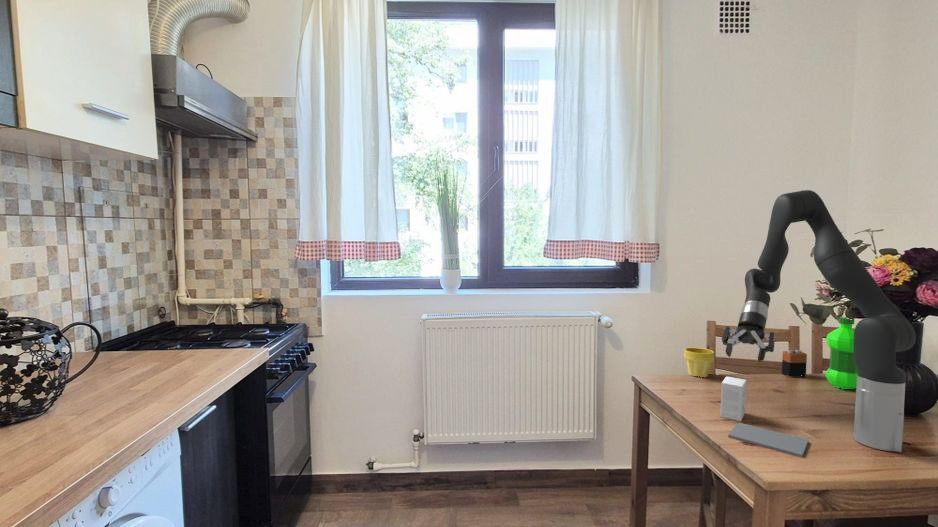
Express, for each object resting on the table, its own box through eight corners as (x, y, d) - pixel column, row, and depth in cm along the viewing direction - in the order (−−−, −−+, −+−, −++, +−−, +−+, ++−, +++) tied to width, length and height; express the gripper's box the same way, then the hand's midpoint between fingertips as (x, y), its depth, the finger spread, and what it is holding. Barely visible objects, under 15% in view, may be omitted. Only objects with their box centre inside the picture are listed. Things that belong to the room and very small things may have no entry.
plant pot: (702, 370, 179) (702, 346, 178) (719, 378, 169) (720, 353, 168) (677, 371, 178) (678, 347, 177) (694, 379, 168) (694, 354, 167)
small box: (724, 408, 139) (725, 375, 138) (745, 413, 136) (746, 379, 135) (719, 416, 133) (720, 382, 132) (741, 421, 129) (742, 386, 129)
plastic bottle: (826, 381, 166) (829, 314, 165) (863, 387, 159) (867, 318, 157) (821, 387, 159) (825, 318, 158) (861, 394, 152) (864, 322, 150)
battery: (806, 377, 171) (807, 351, 170) (789, 377, 170) (790, 351, 170) (797, 373, 175) (798, 348, 175) (781, 374, 175) (782, 348, 174)
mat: (808, 442, 116) (808, 439, 116) (802, 457, 109) (802, 454, 108) (738, 424, 127) (738, 422, 127) (728, 436, 120) (728, 434, 120)
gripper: (727, 308, 152) (716, 347, 144) (777, 313, 142) (768, 355, 134) (731, 321, 156) (720, 360, 148) (780, 327, 146) (771, 368, 139)
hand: (743, 357), depth 141 cm, fingers open, 8 cm apart
